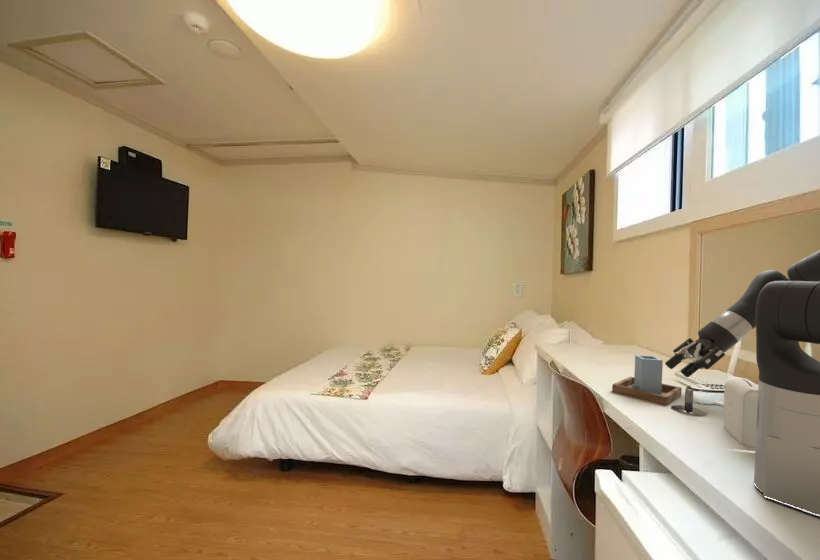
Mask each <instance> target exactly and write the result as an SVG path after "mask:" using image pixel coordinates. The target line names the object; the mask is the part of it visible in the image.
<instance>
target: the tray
mask: <svg viewBox="0 0 820 560" xmlns="http://www.w3.org/2000/svg"><path fill="white" fill-rule="evenodd" d="M632 384H634V376H629V377H626V378H624V379H621V380H619V381H617V382H615V383H612V393H614V394H619V395H622V396H626V397H630V398H635V399H637V400H638V399H639V400H642V401H646V402H651V403H654V404H658V405H663V406H666V407H667V406H668V405H670V404H671V403H672V402H674V401H675V400H677V399H678V398H680V397H681V396H682V391H683V390H682V387H681V386H676V385H671V384H666V383H662V393H661V395H659V394H655V393H651V392H647V391H642V390H638V389H634V388H632Z"/></svg>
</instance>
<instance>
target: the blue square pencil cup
mask: <svg viewBox="0 0 820 560" xmlns="http://www.w3.org/2000/svg"><path fill="white" fill-rule="evenodd" d="M663 361H664V360H663V359H661V358H659V357H657V356H655V355H642V354H634V376H633V377H634V384H632V388H634V389H638V390H642V391H647V392H651V393H655V394H659V395H661V393H662V384H663V365H664V364H663V363H664V362H663Z"/></svg>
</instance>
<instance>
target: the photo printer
mask: <svg viewBox="0 0 820 560" xmlns="http://www.w3.org/2000/svg"><path fill="white" fill-rule="evenodd" d="M723 389H724V392H723V398H724V406H723V413H722V414H723V416H722V417H723V419H722V422H723V423H722V424H723V429H725V431H726V432H727V433H728V434H729V435H730V436H732V437H733V438H734V439H735V440H736V441H737V442H739V443H740V444H743V445H746V446H749V447H753V448H755V447H756V427H757V407H758V389H759V385H757V384H756V383H754V381H751V380H750V379H748V378H745V377H738V376H737V377H736V376H734V377H733V376H732V377H730V378H728V379H727V380H726V381H725V382H724V388H723Z"/></svg>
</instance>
